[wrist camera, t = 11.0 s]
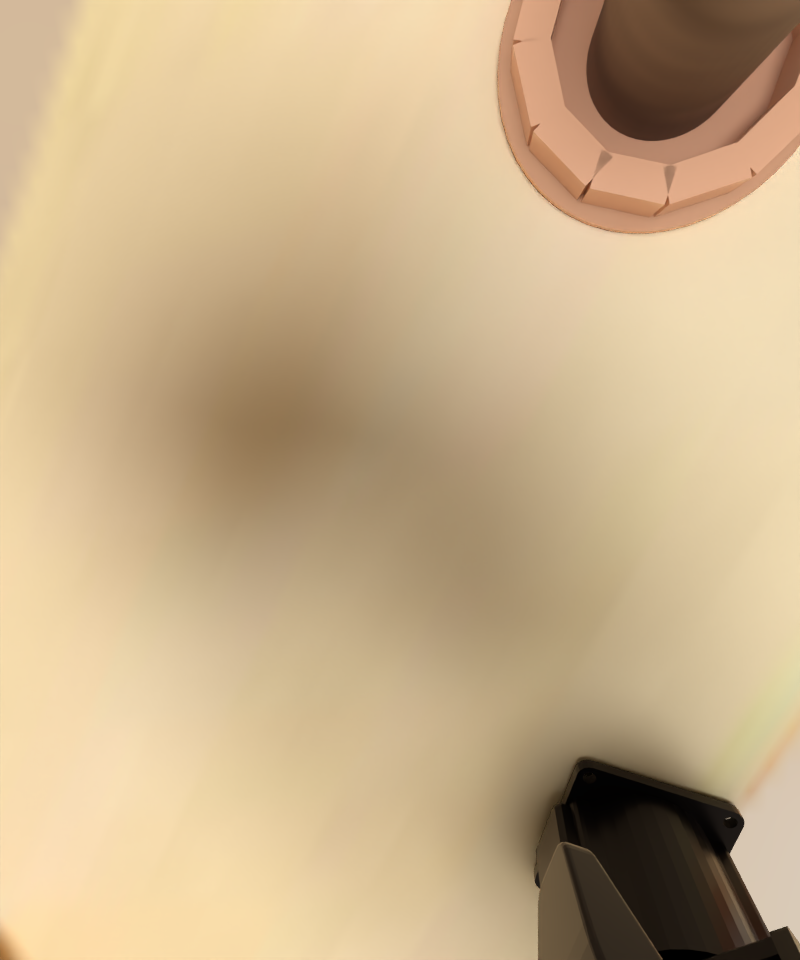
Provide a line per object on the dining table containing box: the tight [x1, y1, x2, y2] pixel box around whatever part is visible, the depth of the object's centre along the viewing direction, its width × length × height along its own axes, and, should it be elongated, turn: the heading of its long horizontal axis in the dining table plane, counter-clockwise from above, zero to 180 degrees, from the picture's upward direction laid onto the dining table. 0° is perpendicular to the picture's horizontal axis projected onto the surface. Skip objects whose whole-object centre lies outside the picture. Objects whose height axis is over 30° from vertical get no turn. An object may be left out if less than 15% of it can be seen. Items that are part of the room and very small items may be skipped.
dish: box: [498, 0, 800, 233], centre depth 15 cm, size 10×10×2 cm
